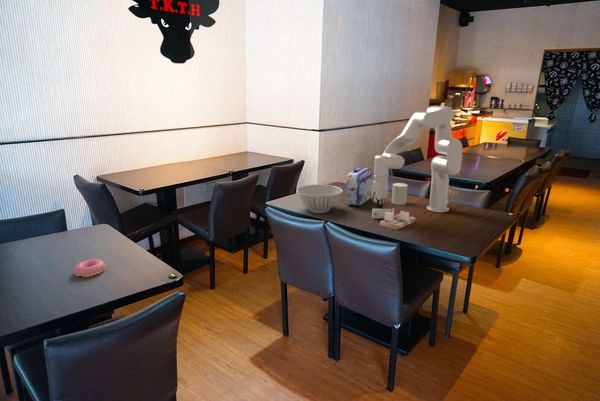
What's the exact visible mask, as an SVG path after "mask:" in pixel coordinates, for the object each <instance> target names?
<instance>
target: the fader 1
mask: <svg viewBox="0 0 600 401" xmlns="http://www.w3.org/2000/svg"><path fill="white" fill-rule="evenodd" d="M394 216H395V212H394V213H392V211H391V212H385V218H383V220H387V221H394Z"/></svg>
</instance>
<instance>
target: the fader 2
mask: <svg viewBox="0 0 600 401" xmlns="http://www.w3.org/2000/svg"><path fill="white" fill-rule="evenodd" d="M399 214H400V219H401V220H405V221H407V220H409V217H410V212H408V211H404V210H401V211H399Z"/></svg>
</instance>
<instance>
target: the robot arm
mask: <svg viewBox="0 0 600 401" xmlns="http://www.w3.org/2000/svg"><path fill="white" fill-rule="evenodd" d="M454 116H455V111H454V109H453V108H452V107H450V106H446V105H445V106H441V105H431V106H428V107H427V108H426V110H425V111H416V112H414V113H413V114H412V115H411V117H410V119H409V120H408V122H407V123H406V125H405V127H404V128H403V130H402V131H401V133H400V135H398V136H397V137H395V138H394V139H393V140H392V141H391V142H390V143H389V144H388V145H387V147H386V148H385V149H384V152H383V153H382V154H377V155H375V157H374V166H373V168H374V169H373V180H372V191H371V198H370V200H371V199H372V201H373V203H375V204H376V205H375V206H376V207H375V209H384V207H383V206H384V203H385V200H386V199H387V198H388V196H389V169H392V170H399V169H401V168H402V167H403V166H404V165H405V158H404V157H403V156H402V155H400V154H398V152H400V150H402V149H403V148H405V147H407V146H410V145H412V144H414V143H415V142H416V140H418V138H419V135H420V134H421V132H422V131H423V130H424V129H427V130H429V129H434V150H435V152H436V153H438V154H440V155H436V156H434V157H433V158H432V159H431V163H430V167H431V168H430V169H431V184H430V194H429V205H427V206H426V210H427V211H430V212H433V213H446V212H449V211H450V208H449V207H448V204H449V200H448V195H449V194H448V193H449V185H450V184H449V183H450V178H449V176H456V175H458V174H459V173H460V171H461V170H462V169H461V168H462V163H463V162H462V158H463V143H462V142H461V140H460V139H458V138H455V137H453V136H452V124H451V121H453V119H454ZM441 154H442V155H441Z"/></svg>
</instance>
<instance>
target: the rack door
mask: <svg viewBox="0 0 600 401" xmlns="http://www.w3.org/2000/svg"><path fill="white" fill-rule="evenodd" d="M371 211H372V212H371V219H384V218H385V212H391V213H392V208H383V209H376V208H372V210H371Z"/></svg>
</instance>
